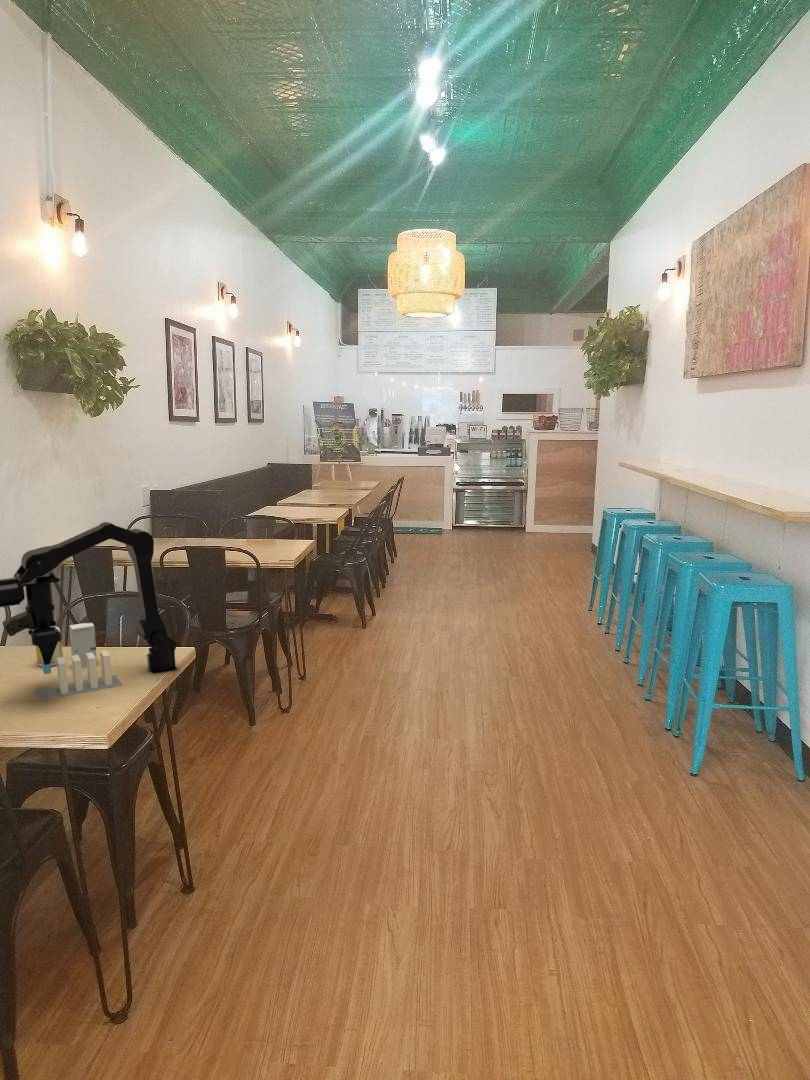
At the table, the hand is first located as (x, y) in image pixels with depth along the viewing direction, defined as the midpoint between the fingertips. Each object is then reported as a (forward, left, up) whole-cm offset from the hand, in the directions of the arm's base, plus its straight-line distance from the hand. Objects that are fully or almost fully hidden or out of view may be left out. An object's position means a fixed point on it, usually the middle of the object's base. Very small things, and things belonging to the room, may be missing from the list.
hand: (46, 661), depth 181 cm
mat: (-7, 0, -9) cm, 11 cm away
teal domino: (0, 0, -2) cm, 2 cm away
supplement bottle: (-3, -25, -9) cm, 27 cm away
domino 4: (-14, 0, -8) cm, 16 cm away
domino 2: (-7, 0, -8) cm, 11 cm away
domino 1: (-3, 0, -8) cm, 9 cm away
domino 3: (-10, 0, -8) cm, 13 cm away
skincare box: (-11, -17, -9) cm, 22 cm away
